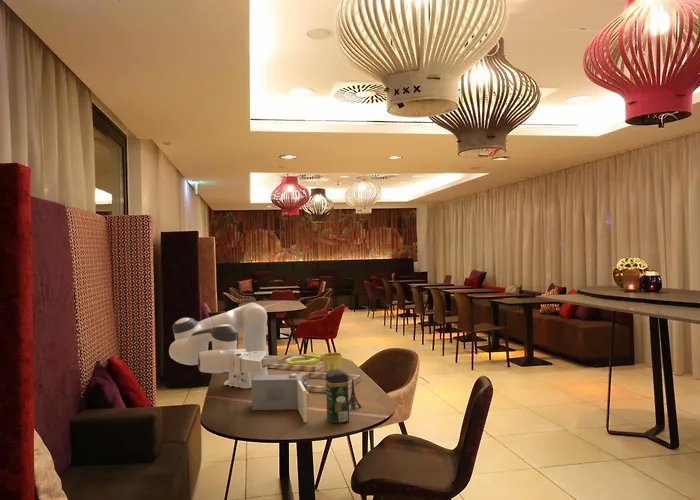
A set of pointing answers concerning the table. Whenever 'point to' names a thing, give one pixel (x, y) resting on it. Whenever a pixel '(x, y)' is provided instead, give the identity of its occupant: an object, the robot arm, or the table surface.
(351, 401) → the eiffel tower figurine
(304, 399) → the side door
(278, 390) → the camera body
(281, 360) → the oak tray frame under the ashtray
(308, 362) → the ashtray
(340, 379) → the coffee jar
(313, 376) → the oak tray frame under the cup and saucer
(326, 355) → the plant pot
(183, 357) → the robot arm
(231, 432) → the table surface
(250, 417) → the table surface
